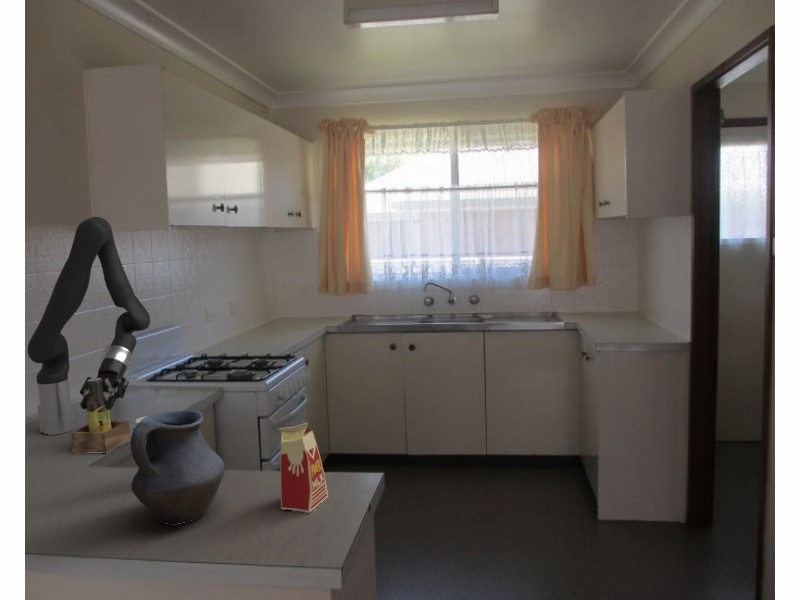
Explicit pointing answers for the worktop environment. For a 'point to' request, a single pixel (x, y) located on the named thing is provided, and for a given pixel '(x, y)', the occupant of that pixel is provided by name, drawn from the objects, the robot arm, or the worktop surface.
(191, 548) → the worktop surface
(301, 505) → the milk carton
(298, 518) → the worktop surface
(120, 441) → the open wooden box
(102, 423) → the sauce bottle
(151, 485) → the pitcher
